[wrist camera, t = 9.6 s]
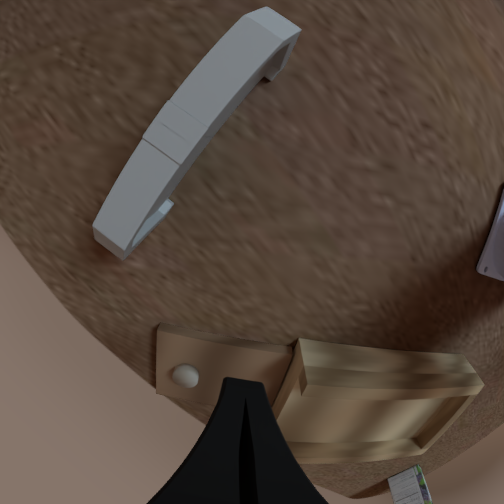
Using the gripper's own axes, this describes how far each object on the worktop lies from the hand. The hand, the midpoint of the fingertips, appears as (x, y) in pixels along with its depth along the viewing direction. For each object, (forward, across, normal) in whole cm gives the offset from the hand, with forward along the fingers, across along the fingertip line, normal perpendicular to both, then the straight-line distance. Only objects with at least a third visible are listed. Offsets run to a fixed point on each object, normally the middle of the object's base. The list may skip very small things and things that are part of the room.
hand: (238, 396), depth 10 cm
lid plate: (+11, 0, +9) cm, 14 cm away
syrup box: (+11, -34, +32) cm, 48 cm away
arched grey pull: (+11, +4, -8) cm, 14 cm away
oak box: (+10, -14, +10) cm, 20 cm away
